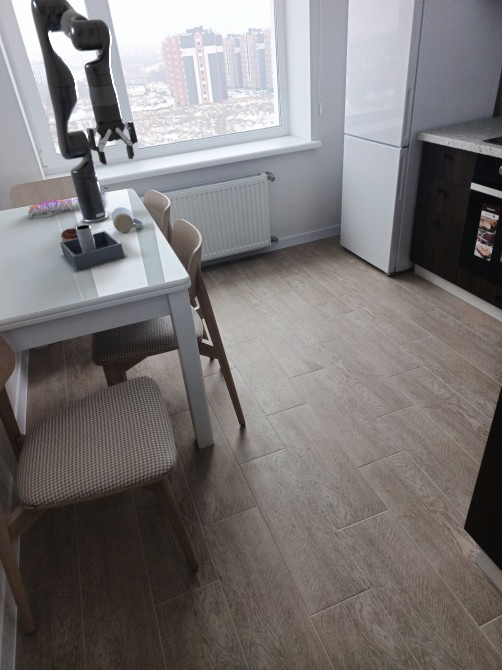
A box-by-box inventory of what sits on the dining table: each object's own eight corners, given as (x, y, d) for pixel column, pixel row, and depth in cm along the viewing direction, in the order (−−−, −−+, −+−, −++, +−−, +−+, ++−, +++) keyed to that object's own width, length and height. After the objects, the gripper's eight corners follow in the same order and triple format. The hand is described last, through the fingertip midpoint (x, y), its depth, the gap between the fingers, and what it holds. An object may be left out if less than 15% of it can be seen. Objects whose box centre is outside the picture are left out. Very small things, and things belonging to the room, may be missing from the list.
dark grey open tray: (63, 255, 160) (59, 242, 158) (108, 243, 167) (105, 230, 165) (77, 271, 148) (73, 256, 146) (124, 257, 155) (121, 243, 152)
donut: (92, 242, 170) (89, 231, 168) (64, 248, 167) (61, 237, 165) (89, 233, 178) (86, 223, 176) (62, 239, 175) (59, 229, 173)
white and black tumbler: (94, 259, 154) (85, 229, 149) (81, 259, 155) (72, 229, 150) (100, 254, 158) (92, 224, 153) (88, 254, 159) (79, 224, 154)
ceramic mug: (115, 235, 174) (111, 214, 170) (114, 228, 181) (109, 208, 177) (144, 230, 177) (140, 210, 173) (142, 223, 183) (138, 204, 179)
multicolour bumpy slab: (100, 200, 217) (97, 188, 214) (99, 209, 204) (96, 197, 202) (31, 209, 212) (28, 198, 209) (26, 219, 200) (22, 207, 197)
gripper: (123, 99, 142) (134, 155, 151) (76, 105, 135) (91, 164, 144) (133, 100, 137) (144, 158, 145) (85, 107, 130) (99, 168, 139)
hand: (117, 161), depth 145 cm, fingers open, 8 cm apart
